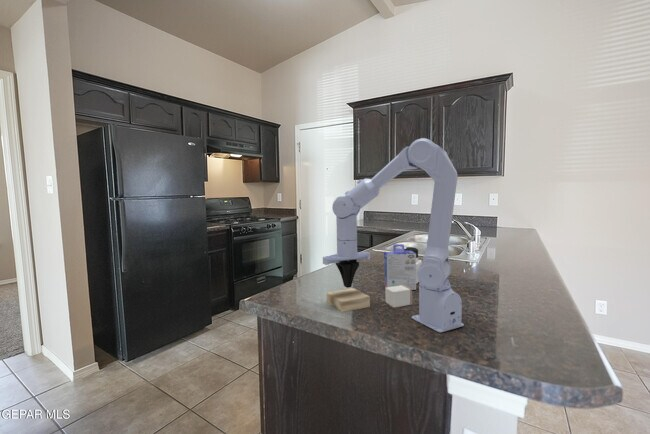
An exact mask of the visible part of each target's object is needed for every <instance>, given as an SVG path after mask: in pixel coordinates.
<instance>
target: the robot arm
mask: <svg viewBox="0 0 650 434" xmlns="http://www.w3.org/2000/svg"><path fill="white" fill-rule="evenodd" d="M416 169H422V170H423V171H425V172H426V174H427V175H428V176H429V177H430V178H431V179H432V180H433V182H434V185H433V193H432V198H431V199H432V200H431V202H432V203H431V208H430V219H429V226H428V235H427V241H426V248H425V251H424V254H423V257H422V264H421V266H420V267H419V269H418V271H417V277H418V280H419V282H418V284H419V287H418V288H419V289H418V290H419V291H418V292H419V295H418V305H419V307H418V308H419V310H418V313H419V314H416V315H412V316H411V319H412V320H414V321H416V322H417V323H420V324H421V325H424V326H426V327H427V328H430V329H432V330H434V331H435V332H437V333H439V334H440V333H444V332H448V331H451V330H454V329H458V328H461V327H464V326H465V324H464V323H463V322H462V312H463V309H462V308H463V307H462V306H463V305H462V304H463V301H462V298H461V296H460V294H459V293H457V292H456V291H454V290H453V289H452V287H451V283H450V280H449V279H448V277H449V276H450V275H451V273H452V264H451V262H450V250H449V246H450V239H451V230H452V222H453V214H454V207H455V201H456V200H455V198H456V194H457V193H456V191H457V186H458V185H457V184H458V171H457V170H456V168H455V167H454V164H453V162H452V161H451V159H450V157H449V156H448V153H447V151H446V150H445V149H444V148H443V147H441V146H440V145H438V144H437V143H434V142H433V141H432V140H431V139H428V138H425V137H422V138H418V139H415V140H414V141H412V143H411V144H410V145H409V146H406V147H404V148H403V149H402V150H401V151H400V152H399V153H398V154H397V155H396V156H395V157H394V158H392V160H391V161H389V163H387V164H386V165H385V166H384V167H382V169H380V170H379V172H377V173H376V174H375V175H374V176H373V177H371V178H363V179H359V180H358V181H357V182H356V183H357V184H356V185H355V186H354V187H353V188H352V189H350V190H349V191H348V190H347V191H346V192H345V193H344V194H345V195H344V196H342V195H341V196H338V197H336V198H335V200H334V201H333V202H332V212H333V214H334V215H335V217H336V218H335V219H336V222H335V223H336V254H335V253H334V254H331V255H327V256H322V265H325V266H329V265H330V264H331V265H333V264H335V265H336V267H337V269H338V272H339V273H340V276H341V279H342V283H343V286H344V287H345V288H346V289H350V288H352V285H353V281H354V277H355V274H356V272H357V271H358V269H359V267H360V262H359V261H363V260H371V252H368V251H358V222H357V221H358V218H357V217H358V214H359V213H360V210H361V209H362V208H363V207H365V206H367V205H368V204H369V203H370V202H371V201H373V200H374V199H375V198H377V197H378V196H379V194H380V188H382V187H384V186H385V185H387V183H389V182H391V180H393V179H394V178H396V177H397V176H398V175H400V174H402V173H403V172H404V171H407V170H408V171H410V170H416Z"/></svg>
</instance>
